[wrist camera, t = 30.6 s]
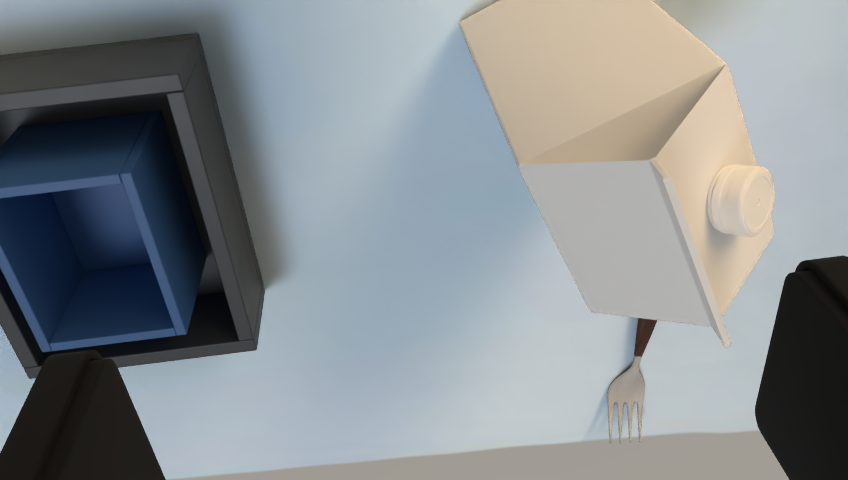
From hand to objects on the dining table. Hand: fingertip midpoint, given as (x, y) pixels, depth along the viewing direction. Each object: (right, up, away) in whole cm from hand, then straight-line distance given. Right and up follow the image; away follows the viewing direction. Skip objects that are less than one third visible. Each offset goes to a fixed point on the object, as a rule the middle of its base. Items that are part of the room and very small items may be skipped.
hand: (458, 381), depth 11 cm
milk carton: (+6, +12, +27) cm, 30 cm away
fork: (+14, -4, +39) cm, 41 cm away
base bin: (-17, +5, +29) cm, 34 cm away
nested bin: (-16, +4, +28) cm, 33 cm away
